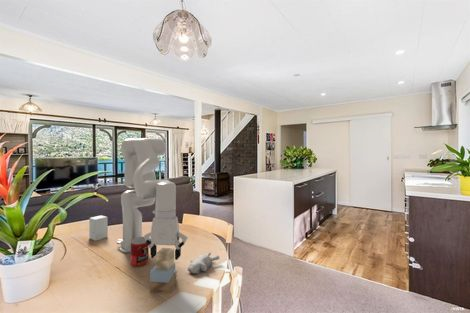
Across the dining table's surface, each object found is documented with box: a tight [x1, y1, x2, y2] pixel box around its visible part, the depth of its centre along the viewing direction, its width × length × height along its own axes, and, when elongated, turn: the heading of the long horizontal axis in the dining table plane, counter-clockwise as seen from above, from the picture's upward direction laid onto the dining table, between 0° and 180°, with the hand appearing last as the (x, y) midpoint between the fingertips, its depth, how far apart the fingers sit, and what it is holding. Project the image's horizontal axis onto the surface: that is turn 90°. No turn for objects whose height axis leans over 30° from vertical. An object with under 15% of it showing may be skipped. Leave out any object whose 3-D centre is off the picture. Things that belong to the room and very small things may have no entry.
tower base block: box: [149, 271, 177, 294], centre depth 88 cm, size 8×8×4 cm
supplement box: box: [89, 214, 109, 242], centre depth 138 cm, size 7×7×13 cm
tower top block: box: [149, 262, 176, 283], centre depth 88 cm, size 7×7×4 cm
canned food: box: [130, 236, 150, 268], centre depth 107 cm, size 8×8×11 cm
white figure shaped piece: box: [187, 251, 220, 275], centre depth 103 cm, size 10×5×15 cm
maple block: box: [155, 247, 175, 270], centre depth 89 cm, size 5×5×6 cm
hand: (165, 257), depth 88 cm, fingers open, 9 cm apart
